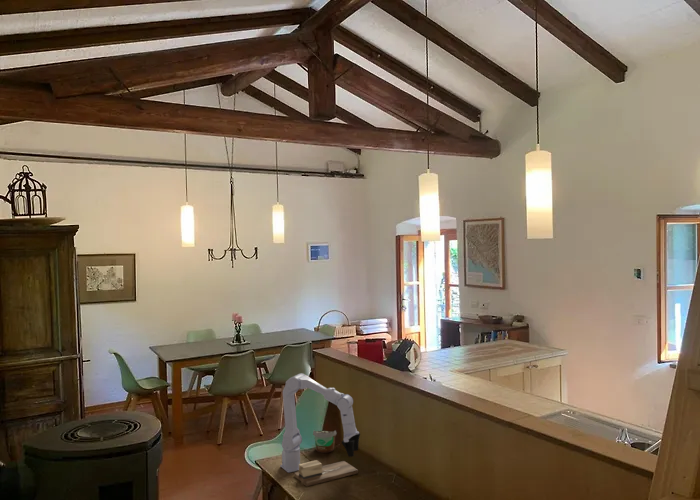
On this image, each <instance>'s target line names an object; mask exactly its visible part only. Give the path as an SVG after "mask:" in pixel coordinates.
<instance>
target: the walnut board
mask: <svg viewBox="0 0 700 500" xmlns="http://www.w3.org/2000/svg"><path fill="white" fill-rule="evenodd" d="M293 474H294V475H293V477H294V478H296V479H297V480H298V481H299V482H301V483H302V484H304V486H306V487H310V486H312V485H313V486H314V485H318V484H321V483H325V482H328V481H329V482H330V481H332V480H337V479H340V478H344V477H348V476H352V475H353V476H354V475H356V474H359V469H357V468H356V467H354V466H353V465H351V464H350V463H348V462H346V461H345V460H342V461H337V462H333V463H330V464H325V465H322V475H319V476H315V477H311V478H307V479H303V478H301V477H300V476H299V471H294V472H293Z"/></svg>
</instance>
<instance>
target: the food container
mask: <svg viewBox="0 0 700 500" xmlns="http://www.w3.org/2000/svg"><path fill="white" fill-rule="evenodd" d="M337 433H338V432H337V430H336V429H335V430H334V431H329V430H320V431H319V430H317V431H316V430H315V429H313V433H312V435H313V437H314V444H315V450H316V452H318V453H323V454H325V453H326V454H327V453H331V452H334V450H335V443H336V436H337Z"/></svg>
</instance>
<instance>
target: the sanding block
mask: <svg viewBox="0 0 700 500" xmlns="http://www.w3.org/2000/svg"><path fill="white" fill-rule="evenodd" d="M322 466H323V464H322V463H321V462H320V461H319V460H317V459H316V460H315V459H314V460H311V461H308V462H303V463H300V464H299V470H298V472H299V476H300V477H301V478H303V479H307V478H311V477H315V476H319V475H322Z"/></svg>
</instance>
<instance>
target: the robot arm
mask: <svg viewBox="0 0 700 500" xmlns="http://www.w3.org/2000/svg"><path fill="white" fill-rule="evenodd" d="M304 389H309V390H311V391H314V392H316V393H318V394H321V395H322V396H323V398H324V400H326V401H328V402H330V403H332V404H333V405H335V406H337V408H338V409H339V411H340V418H341V424H342V429H343V430H342V431H343V440H342V441H341V445H342V446H343V447H344V449H345V450H346V453H347V455H348V457H349V458H351V457H354V456H355V455H354V454H355V453H354V452H356V451H359V446H360V445H359V443H360V442H359V441H360V436H361V432H359V431H358V429H357V427H356V422H355V421H356V420H355V415H354V408H353V404H354V398H353V397H352V396H351V395H350V394H348V393H346V394H345V393H343V392H339V391H338V390H336V388H335V387H328V388H327V387H326V386H324V385H322V384H321V383H319V382H317V381H315V380H314V379H312V378H311V377H310V376H309V375H307V374H305V373H303V372H301V373H298V374H295V375H293V376H291V377H289V378H288V379H287V380H286V381H285V385H284V387H283V390H282V401H283V403H282V405H283V415H284V416H283V417H284V427H285V430H284V432H283V435H282V441H281V448H282V451H281V464H280V468H282V469H283V470H284V471H285V472H286V473H288V474H289V473H295V472H299V464H301V444H302V443H303V437H302V435H301V433H300V429H299V428H298V423H297V412H296V411H297V410H296V399H295V397H296V396H295V394H296V393H298V391H299V390H304Z"/></svg>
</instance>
